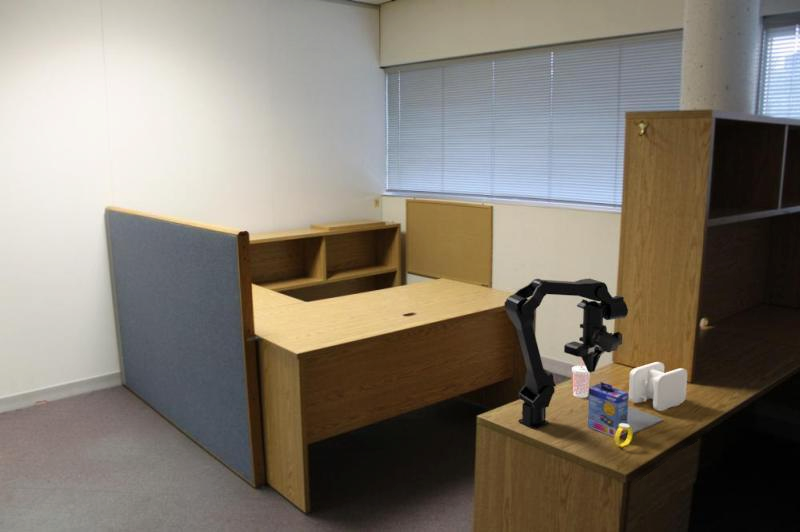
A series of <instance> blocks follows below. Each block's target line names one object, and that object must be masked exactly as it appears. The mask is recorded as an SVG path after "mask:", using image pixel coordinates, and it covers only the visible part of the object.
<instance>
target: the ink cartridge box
mask: <svg viewBox="0 0 800 532" xmlns="http://www.w3.org/2000/svg"><path fill="white" fill-rule="evenodd" d="M628 407H629V392H627V391H625V390H621V389H617V388H613V385H611V384H609V383H605V382H602V381H600V382H599V383H596V384H595V385H592V386H589V389H588V408H587V409H588V413H587V427H588V428H590V429H592V430H595V431H598V432H600V433H603V434H606V435H609V436H610V437H613V438H615V434H616V431H617V429H618V428H619V424H621V423H625V424H627V415H628ZM625 434H628V432H627V430H625V429H624V430H623V431H622V432H621V435H620V437H621V436H623V435H625Z"/></svg>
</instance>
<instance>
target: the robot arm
mask: <svg viewBox="0 0 800 532" xmlns="http://www.w3.org/2000/svg"><path fill="white" fill-rule="evenodd" d="M547 295H557V296H571V297H573V296H575V297H581V298H583V299H581V301H580V302H578V303H577V305H576V306H577V308H580V309H583V313H582V315H583V316H582V323H580V324H579V328H580V329H582V336H580V337H579V342H578V341H571V342H567V343H565V344H564V345H563V346H564V347H563V353H565V354H568V355H571V356H574V357H578V358H580V359H581V358H582V359H583V362H582V363H583V364H584V366H586V368H587V370H588V372H590V374H591V373H594V372H595V370H596V368H597V366H598V363H599V361H600V358H601V356H602V355H603V354H604V353H612V352H614V351H615V352H616V351H618V349H619V346H621V345H623V334H622V333H621V332H620V331H616V332H614V333H613V332H608V328H607V325H605V324H604V320H606V321H612V320H618V319H625V318H626V317H627V316H628V314H629V313H628V312H629V308H628V305H627V303H626V301H625V300H624V296H621V295H615V296H612V295H611V293H610V292H609V288H608V285H607V284H606V283H605V282H603V281H600V280H598V279H597V280H596V279H592V278H583V279H579V280H574V281H568V280H552V279H551V280H549V279H541V278H535V279H533V280H532V281H531V282H530V283H528V284H526V285H525V286H523V287H521V288H519V289H518V290H516V292H514V293H513V294H511V295H509V296H508V297H507V298H506V300H505V302H504V305H503V306H504V309H505V311H506V313H507V317H508V318H509V319H510V321H511V323H513V325H514V327H515V329H516V332H517V336H518V340H519V344H520V348H521V352H522V356H523V358H524V359H523V360H524V364H525V366H526V372H525V376H524V377H525V378H524V381H525V384H524V385H523V386H522V388H521V389H520V390H519V391H518V393H517V395H518V398H519V399H520V400H522V401H523V403H522V406H521V407H522V413H521V415H522V416H521V419H518V420H517V421H518V423H520V424H522V425H525V426H527V427H529V428H531V429H537V428H540V427H543V426H546V425H549V424H550V421H549V420H546V416H547V415H546V411H547V409H546V408H549V406H550V404H551V401H552V397H553V395H554V394H555V392H556V391H555V387H556V386H557V385H556V383H555V380H554V375H553V373H552V372H550V371H548V370H547V369H545V368H544V364H543V360H542V358H541V354H540V353H541V352H540V349H539V345H538V341H537V337H536V334H535V330H534V320H535V315H536V313H535V311H536V309H538V308H539V307H540V305H541V303H542V302H543V300H544V298H545V296H547ZM588 300H590V301H588Z"/></svg>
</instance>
